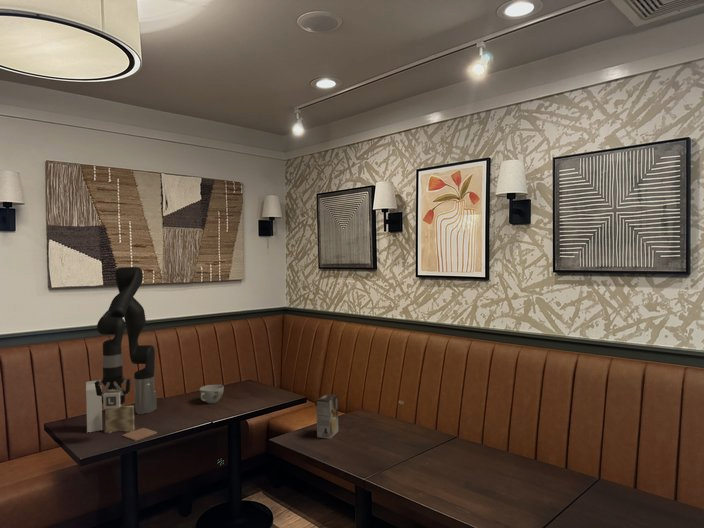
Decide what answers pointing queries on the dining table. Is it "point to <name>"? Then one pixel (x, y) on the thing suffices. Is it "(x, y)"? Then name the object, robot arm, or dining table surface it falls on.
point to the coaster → (139, 434)
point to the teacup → (211, 393)
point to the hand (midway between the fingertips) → (113, 404)
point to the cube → (111, 399)
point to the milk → (93, 408)
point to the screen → (119, 419)
